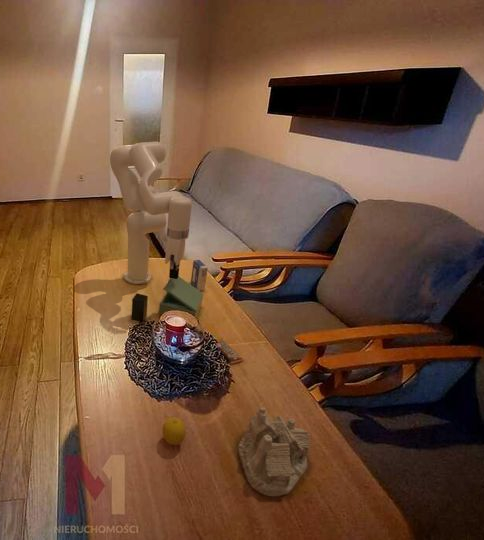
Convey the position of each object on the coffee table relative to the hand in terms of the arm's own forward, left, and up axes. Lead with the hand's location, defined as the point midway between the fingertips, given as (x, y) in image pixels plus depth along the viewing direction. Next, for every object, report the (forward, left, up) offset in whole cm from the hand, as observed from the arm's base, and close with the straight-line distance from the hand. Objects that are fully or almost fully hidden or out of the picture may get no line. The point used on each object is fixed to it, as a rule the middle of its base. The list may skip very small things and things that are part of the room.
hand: (173, 277), depth 132 cm
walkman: (-22, +6, -15) cm, 27 cm away
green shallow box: (0, +4, -15) cm, 15 cm away
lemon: (+56, +17, -15) cm, 61 cm away
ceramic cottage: (+51, +40, -15) cm, 67 cm away
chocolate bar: (+16, +24, -15) cm, 33 cm away
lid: (0, +4, -5) cm, 7 cm away
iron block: (+11, -9, -15) cm, 21 cm away
